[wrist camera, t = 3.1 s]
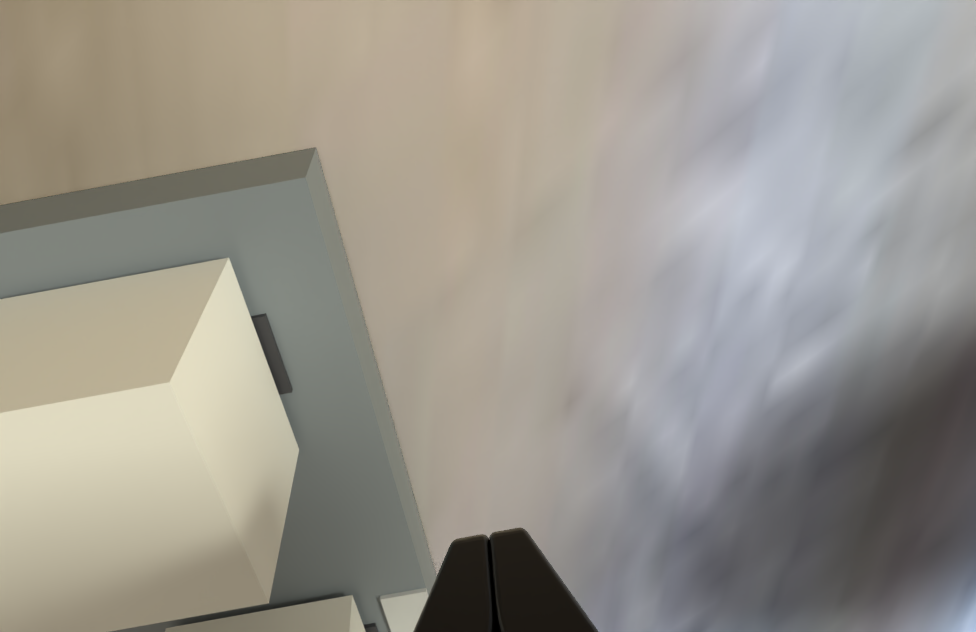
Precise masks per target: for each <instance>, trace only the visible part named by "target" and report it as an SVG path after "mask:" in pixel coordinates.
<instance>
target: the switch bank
mask: <svg viewBox="0 0 976 632" xmlns="http://www.w3.org/2000/svg"><path fill="white" fill-rule="evenodd" d="M224 258H229V259H230V262H231V265H232V267H233V270H234V273H235V275H236V278H237V281H238V284H239V286H240V289H241V292H242V295H243V297H244V300H245V303H246V306H247V308H248V311H249V314H250V316H251V319H252V322H253V325H254V327H255V330H256V333H257V336H258V338H259V341H260V344H261V347H262V349H263V352H264V355H265V357H266V360H267V363H268V366H269V368H270V371H271V374H272V377H273V379H274V382H275V385H276V388H277V390H278V393H279V396H280V399H281V401H282V404H283V407H284V409H285V412H286V415H287V418H288V420H289V423H290V426H291V429H292V431H293V434H294V437H295V440H296V442H297V445H298V448H299V453H298V458H297V463H296V468H295V473H294V478H293V483H292V488H291V493H290V499H289V504H288V509H287V514H286V519H285V524H284V529H283V534H282V539H281V544H280V549H279V554H278V559H277V564H276V569H275V574H274V579H273V584H272V590H271V595H270V600H269V603H267V604H262V605H256V606H251V607H245V608H239V609H234V610H228V611H223V612H217V613H211V614H206V615H200V616H195V617H189V618H183V619H178V620H172V621H166V622H161V623H155V624H150V625H144V626H138V627H133V628H127V629H122V630H116V631H110V632H165V630H166V628H170V627H175V626H181V625H187V624H192V623H198V622H203V621H209V620H215V619H220V618H226V617H231V616H237V615H243V614H248V613H254V612H260V611H265V610H271V609H276V608H282V607H288V606H293V605H299V604H304V603H310V602H316V601H321V600H327V599H332V598H338V597H344V596H349V595H353V598H354V601H355V604H356V606H357V609H358V612H359V615H360V617H361V620H362V623H363V625H364V628H365V631H366V632H413V631H414V629H415V626H416V624H417V622H418V619H419V617H420V615H421V612H422V610H423V608H424V605H425V603H426V601H427V598H428V596H429V594H430V591H431V589H432V587H433V584H434V582H435V580H436V573H435V569H434V566H433V562H432V559H431V555H430V552H429V548H428V545H427V541H426V537H425V534H424V530H423V527H422V523H421V520H420V516H419V512H418V509H417V505H416V502H415V498H414V495H413V491H412V488H411V484H410V480H409V477H408V473H407V470H406V466H405V463H404V459H403V455H402V452H401V448H400V445H399V441H398V438H397V434H396V431H395V427H394V423H393V420H392V416H391V413H390V409H389V406H388V402H387V398H386V395H385V391H384V388H383V384H382V381H381V377H380V374H379V370H378V366H377V363H376V359H375V356H374V352H373V349H372V345H371V341H370V338H369V334H368V331H367V327H366V324H365V320H364V317H363V313H362V309H361V306H360V302H359V299H358V295H357V292H356V288H355V284H354V281H353V277H352V274H351V270H350V267H349V263H348V260H347V256H346V252H345V249H344V245H343V242H342V238H341V235H340V231H339V227H338V224H337V220H336V217H335V213H334V210H333V206H332V203H331V199H330V195H329V192H328V188H327V185H326V181H325V178H324V174H323V170H322V167H321V163H320V160H319V156H318V153H317V149H316V148H311V149H305V150H300V151H294V152H289V153H283V154H278V155H273V156H267V157H262V158H256V159H251V160H245V161H240V162H234V163H229V164H224V165H218V166H213V167H207V168H202V169H196V170H191V171H185V172H180V173H175V174H169V175H164V176H158V177H153V178H147V179H142V180H136V181H131V182H126V183H120V184H115V185H109V186H104V187H98V188H93V189H88V190H82V191H77V192H71V193H66V194H60V195H55V196H49V197H44V198H39V199H33V200H28V201H22V202H17V203H11V204H6V205H0V299H5V298H10V297H16V296H21V295H27V294H32V293H38V292H43V291H48V290H54V289H59V288H65V287H70V286H76V285H81V284H87V283H92V282H98V281H103V280H109V279H114V278H120V277H125V276H131V275H136V274H142V273H147V272H153V271H158V270H164V269H169V268H174V267H180V266H185V265H191V264H196V263H202V262H207V261H213V260H218V259H224Z"/></svg>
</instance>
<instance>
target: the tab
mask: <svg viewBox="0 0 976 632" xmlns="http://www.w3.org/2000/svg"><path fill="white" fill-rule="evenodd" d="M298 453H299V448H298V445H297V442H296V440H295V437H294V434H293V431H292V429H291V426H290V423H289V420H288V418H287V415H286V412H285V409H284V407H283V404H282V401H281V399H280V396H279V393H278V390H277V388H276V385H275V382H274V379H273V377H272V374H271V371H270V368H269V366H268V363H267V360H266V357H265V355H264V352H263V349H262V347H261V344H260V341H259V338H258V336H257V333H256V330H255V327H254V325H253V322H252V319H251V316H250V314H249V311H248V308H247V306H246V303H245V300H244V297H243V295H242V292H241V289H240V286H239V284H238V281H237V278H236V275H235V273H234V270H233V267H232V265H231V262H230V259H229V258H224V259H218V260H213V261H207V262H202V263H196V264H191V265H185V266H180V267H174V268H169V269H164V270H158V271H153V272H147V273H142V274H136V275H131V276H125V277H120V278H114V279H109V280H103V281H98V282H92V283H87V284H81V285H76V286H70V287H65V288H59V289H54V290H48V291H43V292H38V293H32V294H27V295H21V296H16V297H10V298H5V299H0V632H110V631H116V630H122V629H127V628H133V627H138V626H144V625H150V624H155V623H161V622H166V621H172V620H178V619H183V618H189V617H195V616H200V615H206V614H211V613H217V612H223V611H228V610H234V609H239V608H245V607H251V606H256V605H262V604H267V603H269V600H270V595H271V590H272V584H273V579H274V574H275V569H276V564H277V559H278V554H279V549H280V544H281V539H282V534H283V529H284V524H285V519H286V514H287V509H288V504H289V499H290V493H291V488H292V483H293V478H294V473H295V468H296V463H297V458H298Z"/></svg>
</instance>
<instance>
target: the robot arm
mask: <svg viewBox="0 0 976 632" xmlns="http://www.w3.org/2000/svg"><path fill="white" fill-rule="evenodd" d="M413 632H598V630H597V629H596V627H595V626H594V625H593V623H592V622H591V620H590V619H589V618H588V616H587V615H586V613H585V612H584V611H583V609H582V608H581V606H580V605H579V604H578V602H577V601H576V599H575V598H574V597H573V595H572V594H571V592H570V591H569V590H568V588H567V587H566V585H565V584H564V583H563V581H562V580H561V578H560V577H559V576H558V574H557V573H556V571H555V570H554V569H553V567H552V566H551V564H550V563H549V562H548V560H547V559H546V557H545V556H544V555H543V553H542V552H541V550H540V549H539V548H538V546H537V545H536V543H535V542H534V541H533V539H532V538H531V536H530V535H529V534H528V532H527V531H526V530H525V529H523V528H515V529H509V530H504V531H498V532H494V533H492V534H491V535H490V538H488V537H487V536H486V535H476V536H470V537H465V538H459V539H456V540H454V541H453V542H452V543H451V545H450V547H449V549H448V552H447V554H446V556H445V559H444V561H443V563H442V566H441V568H440V570H439V573H438V575H437V577H436V580H435V582H434V584H433V587H432V589H431V591H430V594H429V596H428V598H427V601H426V603H425V605H424V608H423V610H422V612H421V615H420V617H419V619H418V622H417V624H416V626H415V629H414V631H413Z"/></svg>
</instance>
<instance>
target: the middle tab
mask: <svg viewBox="0 0 976 632" xmlns="http://www.w3.org/2000/svg"><path fill="white" fill-rule="evenodd" d="M165 632H366V631H365V628H364V625H363V623H362V620H361V617H360V615H359V612H358V609H357V606H356V604H355V601H354V598H353V595H349V596H344V597H338V598H332V599H327V600H321V601H316V602H310V603H304V604H299V605H293V606H288V607H282V608H276V609H271V610H265V611H260V612H254V613H248V614H243V615H237V616H231V617H226V618H220V619H215V620H209V621H203V622H198V623H192V624H187V625H181V626H175V627H170V628H166V630H165Z"/></svg>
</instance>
